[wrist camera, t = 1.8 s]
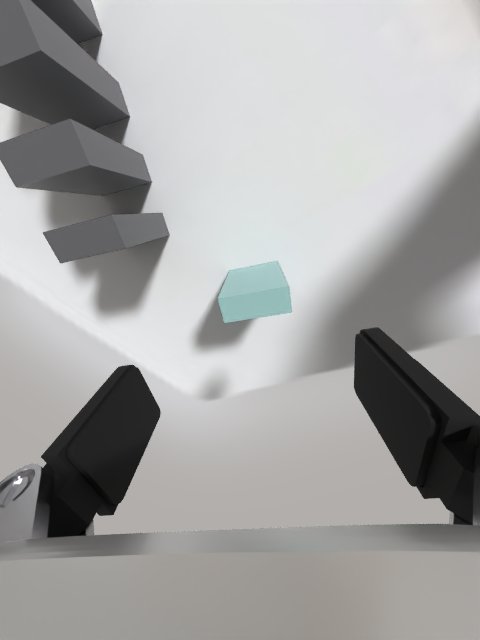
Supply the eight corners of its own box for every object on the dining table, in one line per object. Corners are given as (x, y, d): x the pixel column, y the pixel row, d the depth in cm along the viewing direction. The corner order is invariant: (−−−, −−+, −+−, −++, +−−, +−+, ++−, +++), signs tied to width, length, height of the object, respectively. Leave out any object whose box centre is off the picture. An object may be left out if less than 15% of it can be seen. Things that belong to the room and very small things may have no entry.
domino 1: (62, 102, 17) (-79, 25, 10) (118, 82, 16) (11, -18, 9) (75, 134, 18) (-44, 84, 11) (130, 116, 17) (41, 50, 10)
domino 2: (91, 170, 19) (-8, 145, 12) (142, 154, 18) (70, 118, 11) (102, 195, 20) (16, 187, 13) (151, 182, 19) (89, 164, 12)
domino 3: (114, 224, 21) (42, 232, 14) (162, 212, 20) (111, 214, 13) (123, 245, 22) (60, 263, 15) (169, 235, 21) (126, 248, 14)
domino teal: (229, 270, 22) (217, 298, 15) (277, 260, 21) (289, 285, 14) (233, 288, 23) (224, 323, 16) (280, 279, 22) (292, 312, 15)
